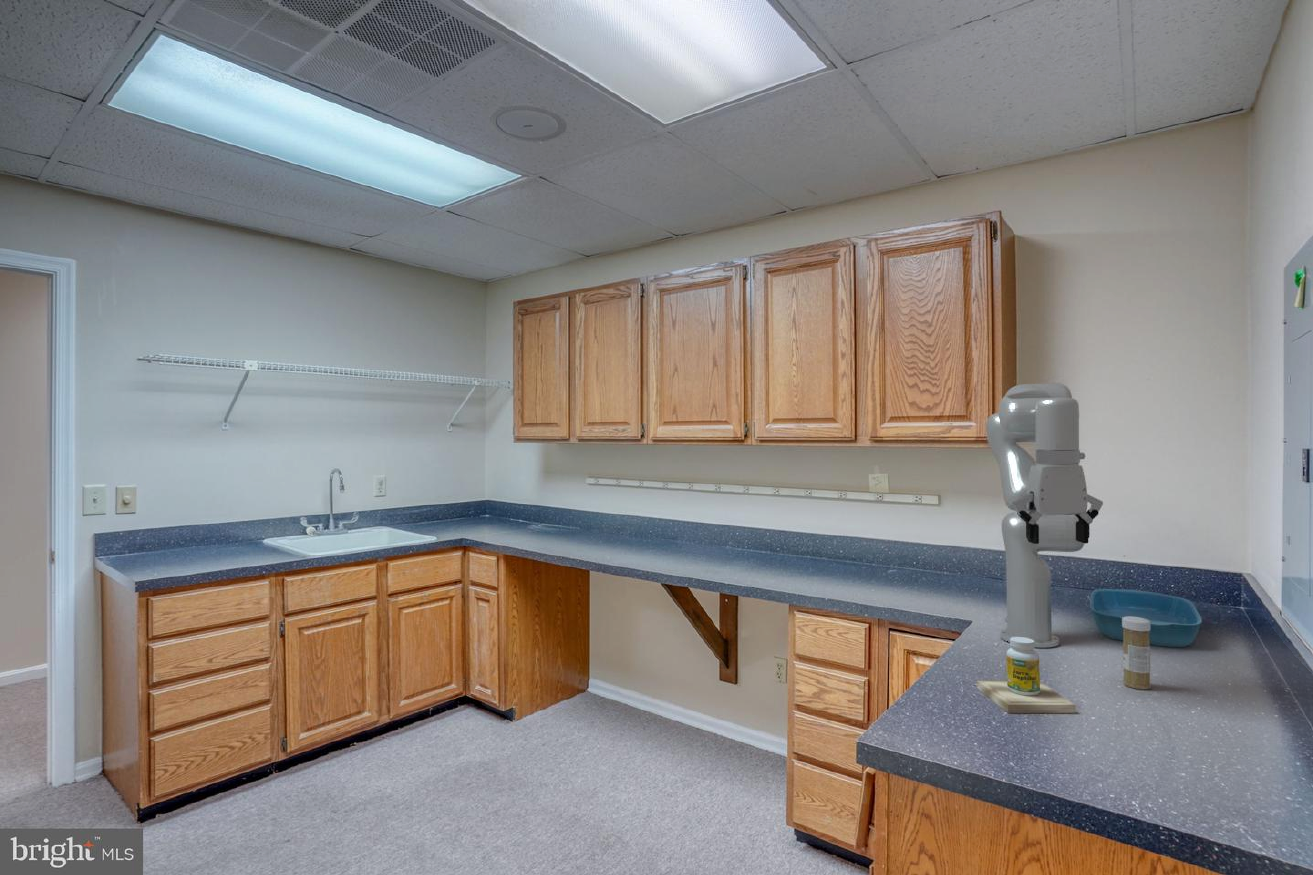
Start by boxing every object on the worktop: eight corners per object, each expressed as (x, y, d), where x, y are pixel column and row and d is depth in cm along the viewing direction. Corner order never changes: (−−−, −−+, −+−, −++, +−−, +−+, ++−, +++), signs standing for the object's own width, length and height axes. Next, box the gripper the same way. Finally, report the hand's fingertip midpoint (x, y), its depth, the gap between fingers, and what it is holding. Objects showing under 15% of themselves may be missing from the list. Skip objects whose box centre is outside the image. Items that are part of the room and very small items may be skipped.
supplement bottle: (1037, 687, 125) (1036, 637, 125) (1042, 698, 120) (1041, 645, 120) (1005, 684, 127) (1004, 634, 127) (1009, 694, 122) (1008, 642, 122)
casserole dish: (1208, 658, 146) (1208, 626, 146) (1089, 642, 159) (1089, 613, 159) (1190, 620, 177) (1189, 594, 177) (1091, 609, 189) (1090, 585, 189)
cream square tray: (976, 687, 129) (976, 679, 129) (1038, 687, 129) (1037, 679, 129) (1007, 712, 117) (1007, 703, 117) (1075, 712, 117) (1075, 703, 117)
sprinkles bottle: (1124, 680, 133) (1123, 614, 133) (1152, 685, 130) (1151, 618, 130) (1121, 686, 129) (1120, 618, 130) (1149, 692, 126) (1148, 623, 126)
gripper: (1089, 456, 135) (1089, 538, 136) (1004, 458, 136) (1005, 539, 137) (1113, 459, 128) (1113, 545, 128) (1022, 460, 129) (1023, 546, 129)
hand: (1057, 542), depth 133 cm, fingers open, 9 cm apart
